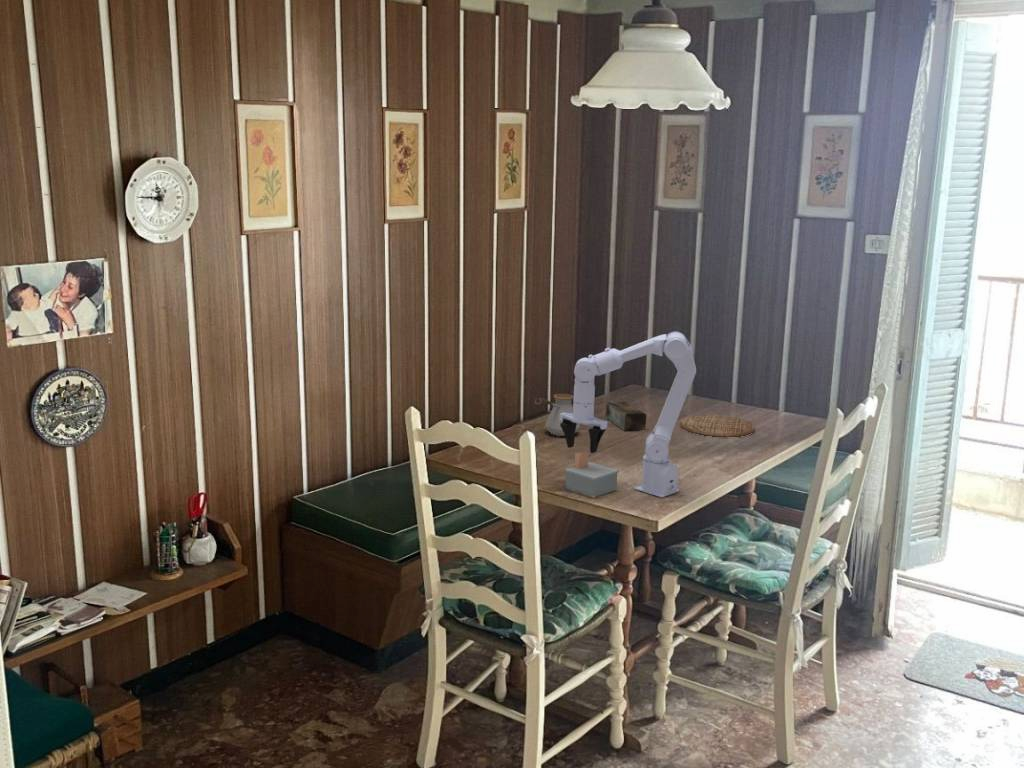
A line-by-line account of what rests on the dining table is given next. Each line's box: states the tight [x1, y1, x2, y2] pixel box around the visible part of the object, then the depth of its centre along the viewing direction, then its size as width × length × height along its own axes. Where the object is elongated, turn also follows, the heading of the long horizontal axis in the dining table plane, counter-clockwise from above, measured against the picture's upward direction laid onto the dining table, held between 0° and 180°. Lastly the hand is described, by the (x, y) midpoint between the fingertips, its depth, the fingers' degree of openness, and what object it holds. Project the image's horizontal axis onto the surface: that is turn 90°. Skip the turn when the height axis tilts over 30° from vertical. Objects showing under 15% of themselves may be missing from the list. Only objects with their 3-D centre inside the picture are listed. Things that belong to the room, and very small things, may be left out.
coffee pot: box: [534, 393, 581, 437], centre depth 329 cm, size 21×12×15 cm, turn 145°
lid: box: [564, 450, 619, 480], centre depth 277 cm, size 10×10×5 cm
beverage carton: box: [605, 400, 647, 432], centre depth 348 cm, size 8×19×7 cm, turn 15°
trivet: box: [679, 414, 756, 438], centre depth 346 cm, size 25×25×2 cm
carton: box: [564, 472, 618, 499], centre depth 278 cm, size 10×10×5 cm
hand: (581, 449), depth 280 cm, fingers open, 7 cm apart
